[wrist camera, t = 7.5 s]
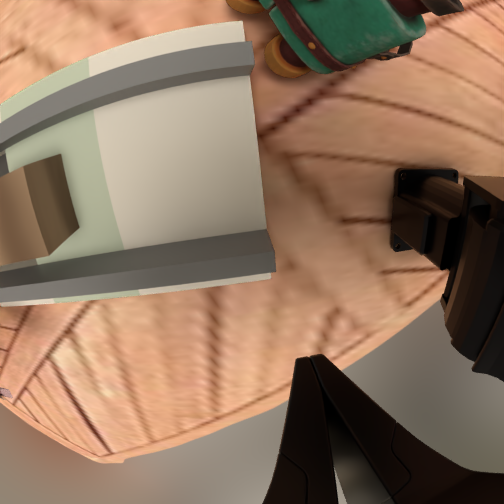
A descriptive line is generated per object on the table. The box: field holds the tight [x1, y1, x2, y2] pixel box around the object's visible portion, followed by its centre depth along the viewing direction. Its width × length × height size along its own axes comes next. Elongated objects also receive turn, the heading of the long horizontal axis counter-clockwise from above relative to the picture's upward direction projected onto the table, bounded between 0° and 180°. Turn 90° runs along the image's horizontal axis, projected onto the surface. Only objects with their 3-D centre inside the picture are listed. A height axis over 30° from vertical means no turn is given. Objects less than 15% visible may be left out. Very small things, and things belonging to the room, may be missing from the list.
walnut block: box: [0, 154, 80, 266], centre depth 13 cm, size 5×5×4 cm
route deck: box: [0, 21, 276, 307], centre depth 14 cm, size 25×16×5 cm, turn 96°
